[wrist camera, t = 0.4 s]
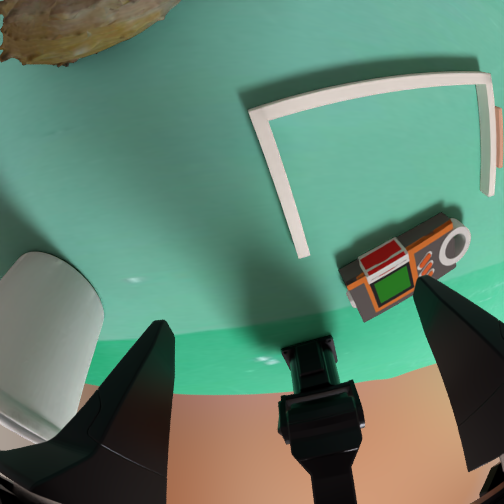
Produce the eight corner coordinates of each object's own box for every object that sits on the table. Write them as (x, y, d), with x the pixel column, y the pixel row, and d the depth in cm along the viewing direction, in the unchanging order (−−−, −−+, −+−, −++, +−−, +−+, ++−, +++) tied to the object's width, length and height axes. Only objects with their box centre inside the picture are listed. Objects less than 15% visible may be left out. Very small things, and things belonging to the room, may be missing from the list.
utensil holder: (114, 347, 33) (84, 466, 19) (28, 317, 30) (-16, 416, 16) (106, 265, 25) (38, 431, 11) (2, 235, 22) (-80, 349, 8)
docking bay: (488, 187, 21) (500, 196, 19) (295, 248, 25) (299, 262, 23) (483, 71, 14) (497, 74, 12) (247, 109, 18) (248, 112, 16)
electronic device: (472, 258, 24) (362, 326, 27) (458, 243, 26) (353, 307, 30) (470, 209, 20) (342, 287, 24) (453, 196, 23) (333, 268, 26)
